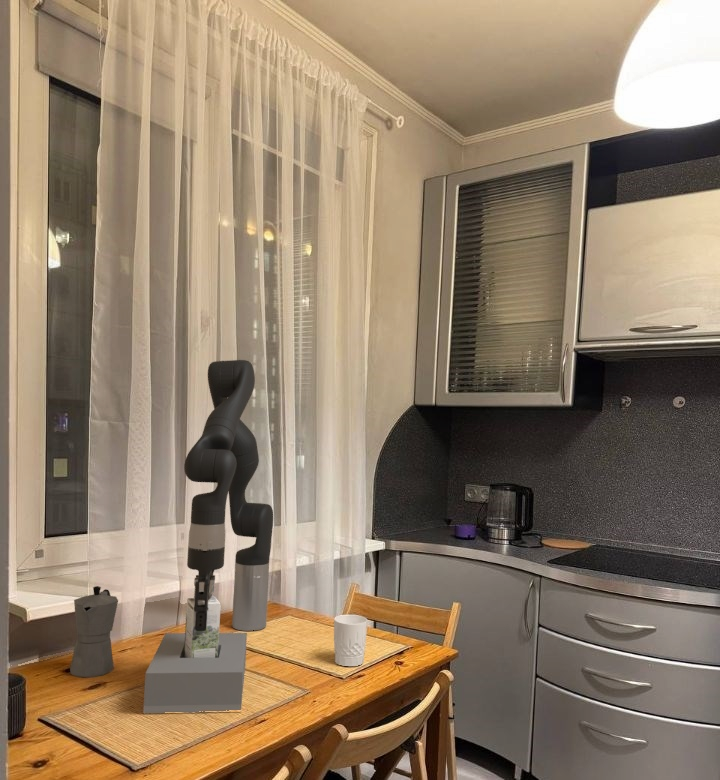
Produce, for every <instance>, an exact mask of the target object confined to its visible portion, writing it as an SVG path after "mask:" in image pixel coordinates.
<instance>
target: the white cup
mask: <svg viewBox="0 0 720 780" xmlns="http://www.w3.org/2000/svg"><path fill="white" fill-rule="evenodd" d="M367 629H368V618H366V617H364V616H363V615H360V614H359V615H357V614H341V615H337V616H334V619H333V641H334V643H333V645H334V647H333V649H334V663H335V662H336V663H337V664H339V665H343V666H358V665H361V664H362V663H363V664H364V660H365V651H366V644H367V643H366V642H367V641H366V640H367V632H368V631H367ZM336 663H335V664H336ZM337 664H336V665H337ZM363 664H362V665H363ZM339 665H338V666H339ZM362 665H361V666H362ZM358 667H359V666H358Z"/></svg>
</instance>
